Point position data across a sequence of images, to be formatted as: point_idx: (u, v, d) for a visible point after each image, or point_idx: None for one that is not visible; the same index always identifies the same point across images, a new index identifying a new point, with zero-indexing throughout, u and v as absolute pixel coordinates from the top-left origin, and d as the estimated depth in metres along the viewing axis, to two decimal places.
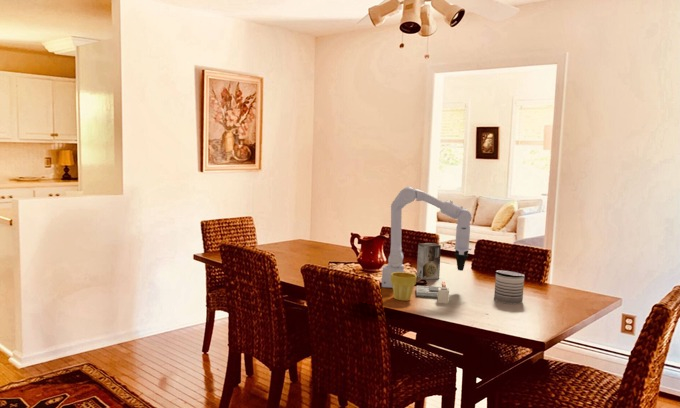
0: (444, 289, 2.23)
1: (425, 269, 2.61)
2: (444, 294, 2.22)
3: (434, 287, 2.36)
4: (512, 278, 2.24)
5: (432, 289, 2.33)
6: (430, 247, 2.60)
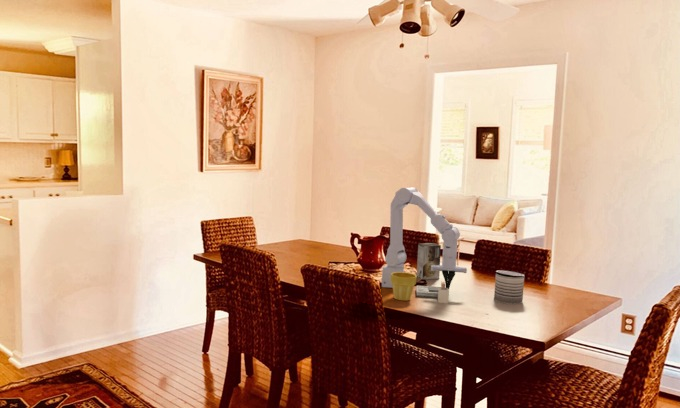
0: (444, 289, 2.23)
1: (425, 269, 2.61)
2: (444, 294, 2.22)
3: (433, 287, 2.36)
4: (512, 278, 2.24)
5: (431, 289, 2.33)
6: (430, 247, 2.60)
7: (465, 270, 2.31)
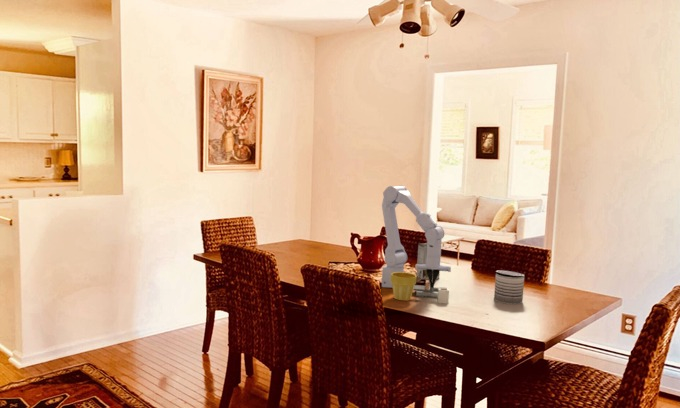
0: (444, 289, 2.23)
1: None
2: (444, 294, 2.22)
3: (418, 286, 2.37)
4: (512, 278, 2.24)
5: (416, 288, 2.33)
6: None
7: (449, 269, 2.32)
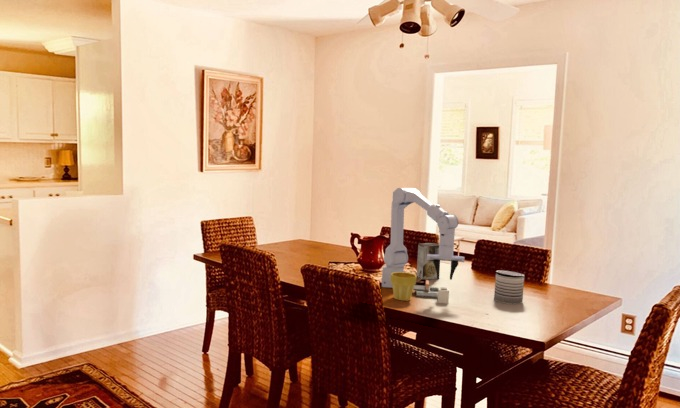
0: (444, 289, 2.23)
1: (425, 269, 2.61)
2: (444, 294, 2.22)
3: (418, 286, 2.37)
4: (512, 278, 2.24)
5: (416, 288, 2.33)
6: (430, 247, 2.60)
7: (463, 259, 2.21)
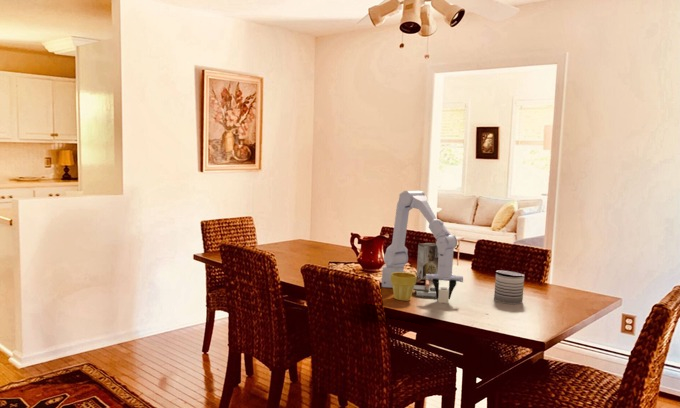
0: (444, 289, 2.23)
1: (425, 269, 2.61)
2: (444, 294, 2.22)
3: (418, 286, 2.37)
4: (512, 278, 2.24)
5: (416, 288, 2.33)
6: (430, 247, 2.60)
7: (461, 279, 2.22)
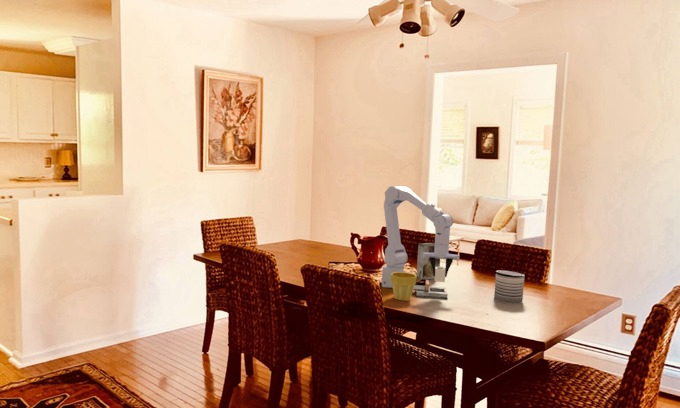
0: (441, 268, 2.29)
1: (425, 269, 2.61)
2: (440, 273, 2.28)
3: (418, 286, 2.37)
4: (512, 278, 2.24)
5: (416, 288, 2.33)
6: (430, 247, 2.60)
7: (458, 257, 2.28)
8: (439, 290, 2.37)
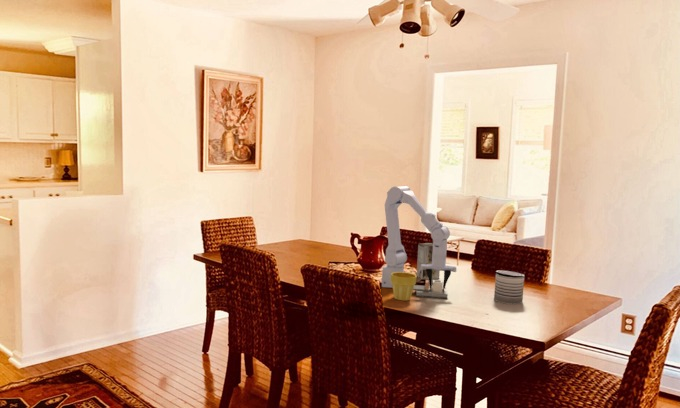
0: (438, 281, 2.33)
1: None
2: (438, 286, 2.32)
3: (418, 286, 2.37)
4: (512, 278, 2.24)
5: (415, 288, 2.33)
6: (430, 247, 2.60)
7: (455, 269, 2.32)
8: None
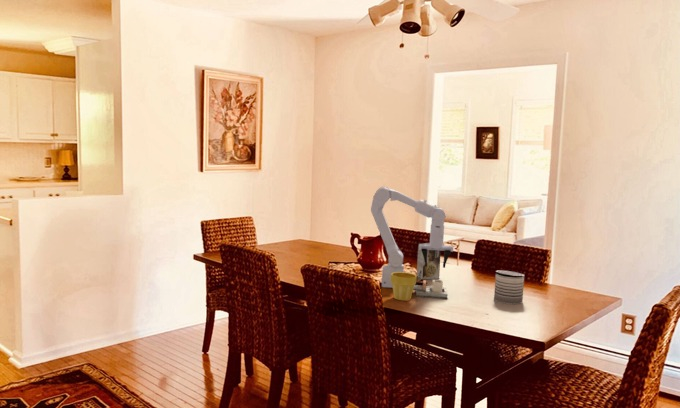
0: (438, 281, 2.33)
1: (425, 269, 2.61)
2: (438, 286, 2.32)
3: (415, 286, 2.37)
4: (512, 278, 2.24)
5: (413, 288, 2.34)
6: None
7: (452, 249, 2.40)
8: None
